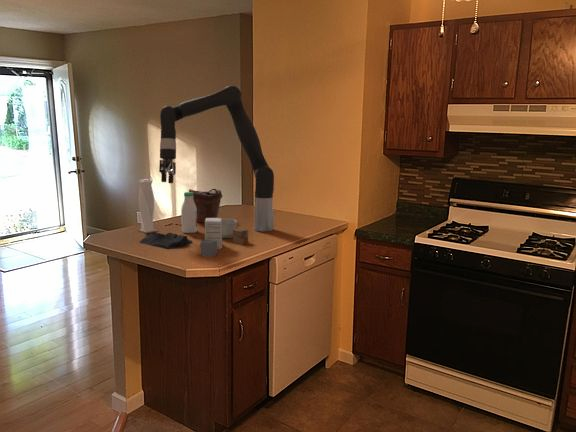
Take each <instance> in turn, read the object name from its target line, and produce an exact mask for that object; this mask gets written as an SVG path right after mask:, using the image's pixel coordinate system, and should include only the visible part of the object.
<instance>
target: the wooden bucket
mask: <svg viewBox="0 0 576 432" xmlns="http://www.w3.org/2000/svg"><path fill="white" fill-rule="evenodd" d="M188 192H193V194H194V195H193V196H194V197H193V200H194V203H195V205H196V208H197V223H205V219H206V218H218V215H219V210H220V206H221V200H222V198H223V194H222V190H221V189H216V188H212V189H210V190H209V191H200V190H193V189H191V188H189V189H188Z"/></svg>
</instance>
